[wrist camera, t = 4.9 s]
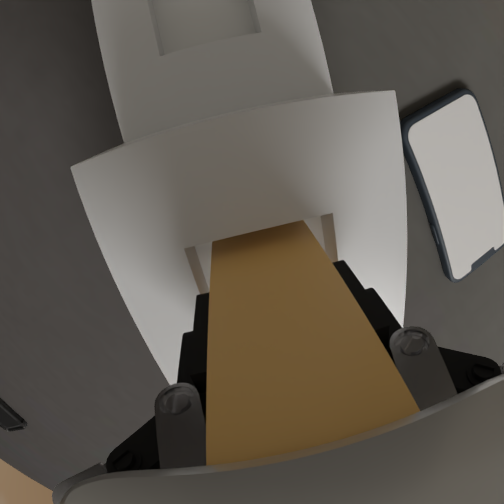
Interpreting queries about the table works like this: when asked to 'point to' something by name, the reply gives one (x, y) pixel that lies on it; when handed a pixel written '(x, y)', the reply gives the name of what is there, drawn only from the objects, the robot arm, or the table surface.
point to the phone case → (456, 180)
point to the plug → (290, 351)
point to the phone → (10, 418)
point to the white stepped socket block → (234, 154)
